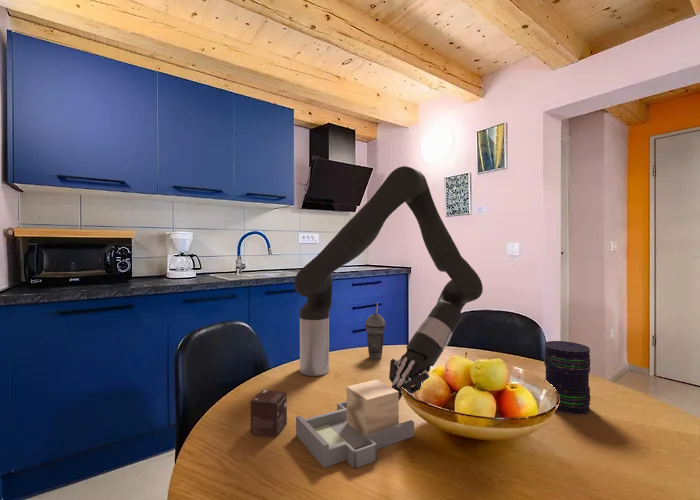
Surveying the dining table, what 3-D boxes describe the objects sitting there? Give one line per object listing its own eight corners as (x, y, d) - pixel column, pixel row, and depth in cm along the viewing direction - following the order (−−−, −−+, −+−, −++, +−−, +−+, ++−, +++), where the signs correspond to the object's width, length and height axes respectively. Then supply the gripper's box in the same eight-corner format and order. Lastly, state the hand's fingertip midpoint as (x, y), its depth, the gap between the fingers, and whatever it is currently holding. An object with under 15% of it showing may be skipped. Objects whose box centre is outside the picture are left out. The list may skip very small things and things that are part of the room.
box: (276, 438, 74) (276, 402, 74) (249, 435, 75) (249, 400, 75) (287, 424, 80) (287, 391, 80) (262, 421, 81) (262, 389, 81)
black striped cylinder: (579, 419, 82) (580, 354, 82) (536, 404, 90) (536, 344, 90) (597, 407, 88) (597, 347, 88) (555, 394, 96) (555, 338, 96)
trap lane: (290, 429, 78) (290, 410, 78) (370, 407, 88) (370, 390, 88) (331, 477, 61) (331, 454, 61) (424, 443, 72) (424, 423, 72)
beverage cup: (375, 353, 134) (375, 299, 134) (389, 357, 128) (389, 301, 128) (361, 357, 129) (360, 301, 129) (375, 361, 123) (375, 304, 123)
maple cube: (346, 422, 78) (346, 386, 78) (376, 414, 82) (376, 379, 82) (367, 439, 72) (367, 399, 71) (398, 429, 76) (398, 391, 76)
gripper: (403, 325, 90) (362, 384, 84) (442, 337, 79) (398, 405, 72) (419, 344, 93) (380, 401, 86) (458, 357, 81) (418, 425, 75)
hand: (388, 403), depth 79 cm, fingers closed
